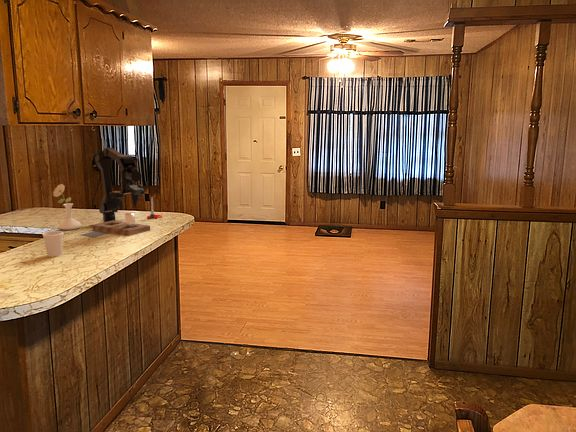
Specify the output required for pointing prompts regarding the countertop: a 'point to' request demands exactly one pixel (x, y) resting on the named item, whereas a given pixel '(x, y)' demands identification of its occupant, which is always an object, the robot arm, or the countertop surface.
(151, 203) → the tow hook
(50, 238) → the dixie cup
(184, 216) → the countertop surface
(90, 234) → the rubber mat
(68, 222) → the flower in vase
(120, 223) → the hole block
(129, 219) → the steel peg
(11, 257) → the countertop surface
